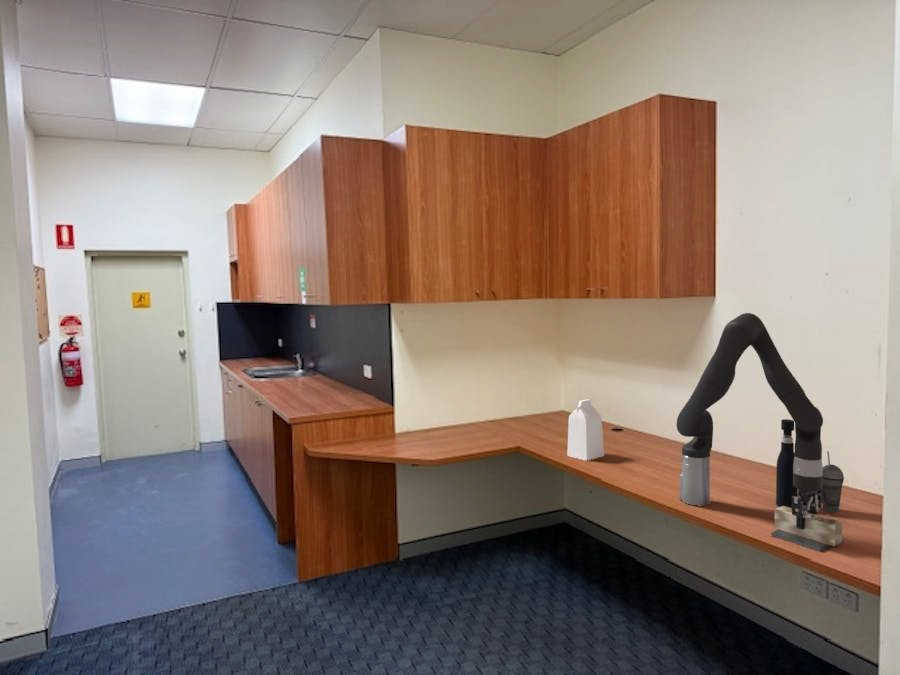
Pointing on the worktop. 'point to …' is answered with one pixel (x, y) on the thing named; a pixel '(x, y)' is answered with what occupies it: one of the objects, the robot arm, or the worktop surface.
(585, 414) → the milk
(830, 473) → the grey tapered rounded cylinder
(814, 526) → the bar
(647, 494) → the worktop surface
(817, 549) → the mounting plate
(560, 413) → the worktop surface
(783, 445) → the wine bottle
